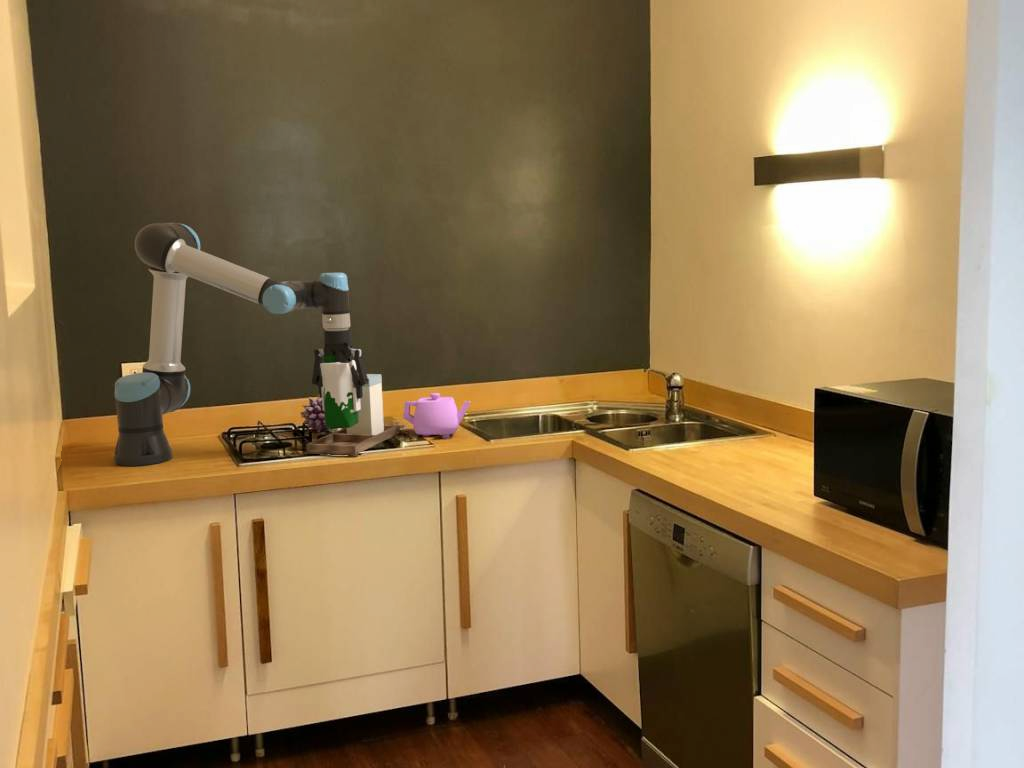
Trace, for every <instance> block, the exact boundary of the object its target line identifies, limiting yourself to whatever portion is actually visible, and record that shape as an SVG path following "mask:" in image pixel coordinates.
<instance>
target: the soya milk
mask: <svg viewBox="0 0 1024 768" xmlns="http://www.w3.org/2000/svg"><path fill="white" fill-rule="evenodd" d="M351 360H352V362H348V361H347V362H348V363H340V362H336V360H335V355H332V357H331V355H325V353H324V355H323V363H321V364H320V367H321V374H322V380H323V396H324V411H325V425H326V428H330V429H331V428H332V429H334V428H337V429H340V428H341V429H343V428H350V427H352V426H354V425H355V424H357V423H358V411H354V404H353V387H354V386H355V385H354V383H353V381H352V373H351V367H352V366H353V365H354V367H355V369H356V370H357V367H356V363H355V359H351Z"/></svg>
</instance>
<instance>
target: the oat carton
mask: <svg viewBox="0 0 1024 768" xmlns="http://www.w3.org/2000/svg"><path fill="white" fill-rule="evenodd" d="M366 374H367V377H368V381H369V382H368V384H365V385H363V386H362V393H363V397H362V398H360V405H361V409H360V410H358V423H357V424H355V425H354V426H352V427H350V428H347V434H363V435H377V434H379V433H381V432H383V431H384V425H385V424H384V406H383V404H384V403H383V385H382V383H383V378H382V374H380V373H379V374H378V373H375V374H374V373H366Z"/></svg>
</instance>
